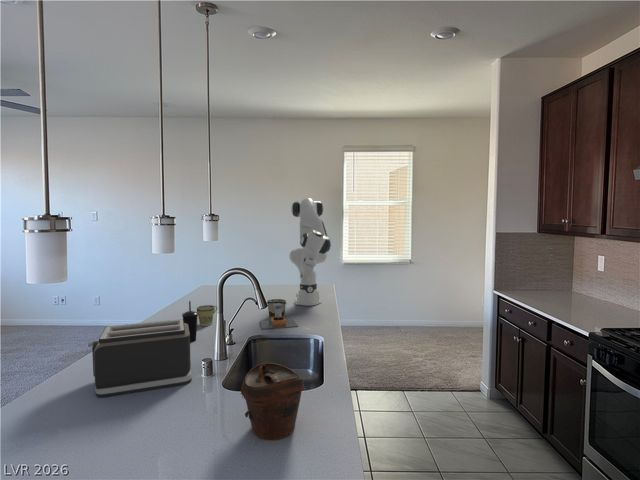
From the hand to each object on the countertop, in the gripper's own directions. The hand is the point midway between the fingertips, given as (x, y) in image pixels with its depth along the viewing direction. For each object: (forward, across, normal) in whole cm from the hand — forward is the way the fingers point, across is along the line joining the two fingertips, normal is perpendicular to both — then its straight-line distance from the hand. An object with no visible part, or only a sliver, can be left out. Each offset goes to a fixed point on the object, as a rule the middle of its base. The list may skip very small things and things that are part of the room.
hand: (302, 280), depth 226 cm
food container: (+29, -9, -6) cm, 31 cm away
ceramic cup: (+40, +1, -44) cm, 59 cm away
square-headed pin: (+26, +10, -7) cm, 28 cm away
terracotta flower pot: (+14, +115, -17) cm, 117 cm away
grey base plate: (+26, +10, -7) cm, 29 cm away
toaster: (+34, +76, -61) cm, 103 cm away
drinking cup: (+37, +30, -50) cm, 69 cm away
